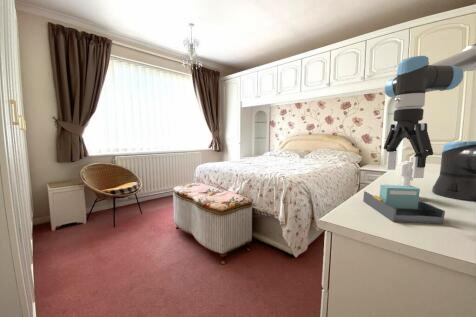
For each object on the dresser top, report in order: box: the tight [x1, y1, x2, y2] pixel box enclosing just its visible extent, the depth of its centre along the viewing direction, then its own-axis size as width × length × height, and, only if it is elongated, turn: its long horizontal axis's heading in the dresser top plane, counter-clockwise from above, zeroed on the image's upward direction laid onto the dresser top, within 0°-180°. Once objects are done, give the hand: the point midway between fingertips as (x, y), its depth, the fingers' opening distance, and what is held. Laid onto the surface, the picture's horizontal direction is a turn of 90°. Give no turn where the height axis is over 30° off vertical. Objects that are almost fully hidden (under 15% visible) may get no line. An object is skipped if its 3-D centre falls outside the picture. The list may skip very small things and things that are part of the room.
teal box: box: [379, 184, 421, 209], centre depth 73 cm, size 10×4×8 cm, turn 84°
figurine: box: [400, 160, 414, 186], centre depth 90 cm, size 7×9×15 cm
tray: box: [362, 190, 446, 225], centre depth 73 cm, size 14×19×5 cm
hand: (402, 173), depth 72 cm, fingers open, 13 cm apart
